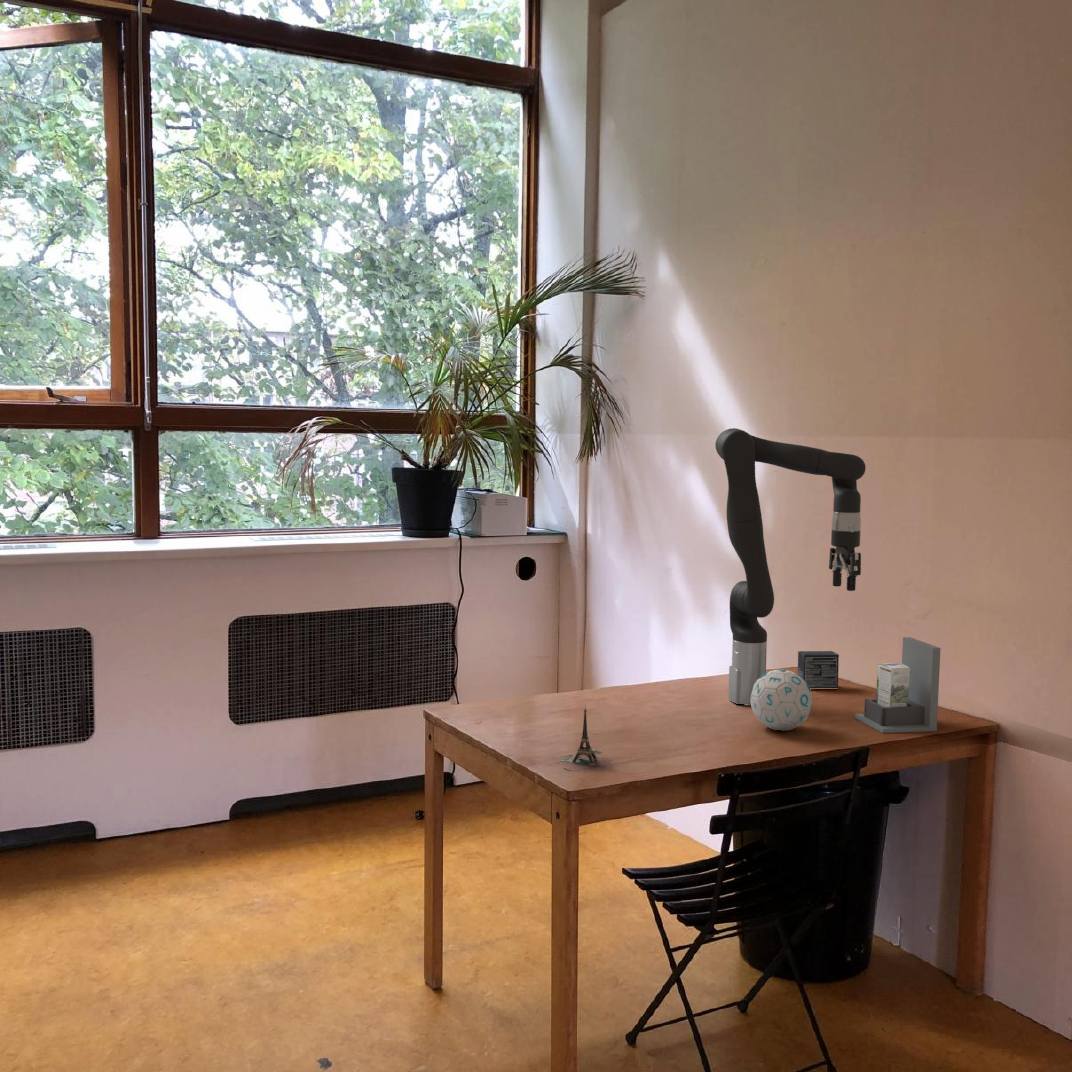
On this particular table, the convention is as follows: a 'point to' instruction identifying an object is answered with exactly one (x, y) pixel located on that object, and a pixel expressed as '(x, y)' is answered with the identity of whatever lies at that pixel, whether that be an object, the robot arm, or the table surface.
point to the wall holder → (911, 693)
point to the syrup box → (892, 685)
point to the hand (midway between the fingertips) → (843, 588)
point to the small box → (819, 668)
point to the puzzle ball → (781, 700)
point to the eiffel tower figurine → (583, 750)
